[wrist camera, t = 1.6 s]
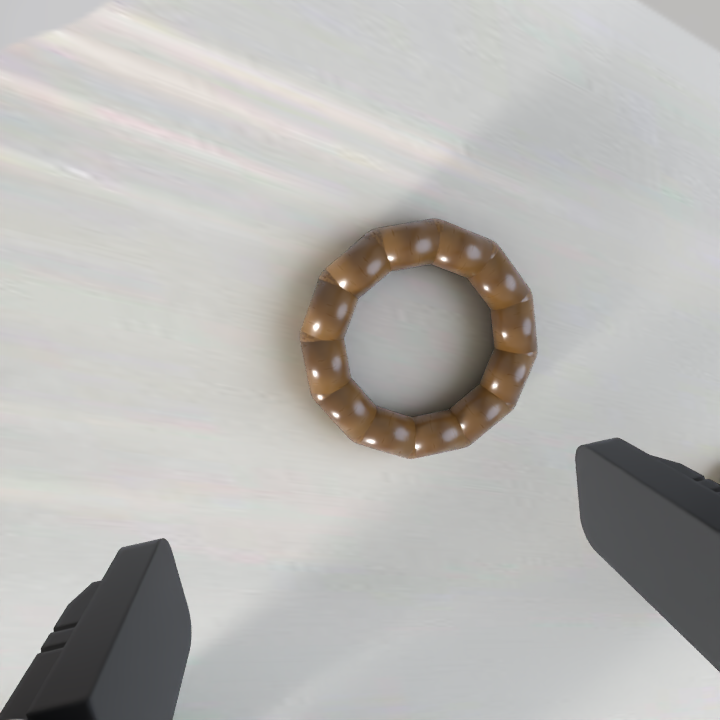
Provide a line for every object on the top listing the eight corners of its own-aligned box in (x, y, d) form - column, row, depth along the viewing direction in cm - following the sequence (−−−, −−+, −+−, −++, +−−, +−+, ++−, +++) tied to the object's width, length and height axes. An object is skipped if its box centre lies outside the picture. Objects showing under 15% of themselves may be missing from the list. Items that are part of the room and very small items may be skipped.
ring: (281, 244, 24) (280, 244, 22) (512, 204, 25) (531, 201, 23) (325, 467, 26) (328, 484, 24) (534, 422, 27) (552, 435, 26)
